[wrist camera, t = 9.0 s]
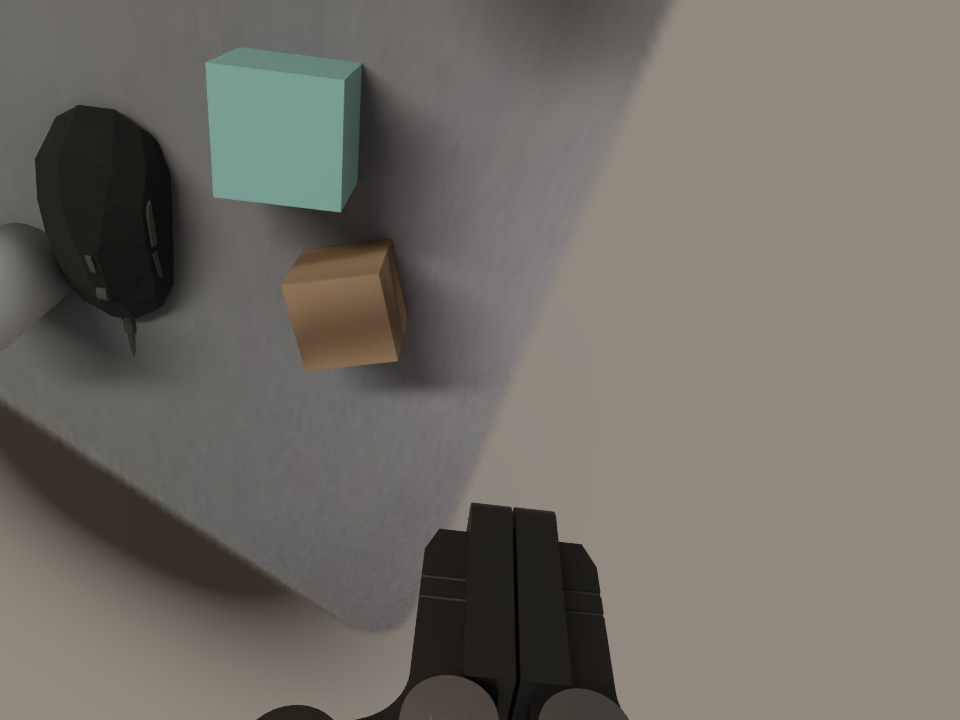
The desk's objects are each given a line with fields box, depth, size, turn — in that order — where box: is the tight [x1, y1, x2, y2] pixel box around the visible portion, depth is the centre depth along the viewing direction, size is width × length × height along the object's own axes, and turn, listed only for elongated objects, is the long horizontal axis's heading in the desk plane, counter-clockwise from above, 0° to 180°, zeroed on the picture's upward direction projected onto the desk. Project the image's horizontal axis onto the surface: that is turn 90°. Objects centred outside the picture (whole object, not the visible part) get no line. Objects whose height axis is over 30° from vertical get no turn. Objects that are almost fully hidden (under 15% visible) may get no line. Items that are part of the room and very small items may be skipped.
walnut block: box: [281, 239, 408, 371], centre depth 41 cm, size 5×5×5 cm
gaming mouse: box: [35, 105, 174, 356], centre depth 40 cm, size 6×15×4 cm, turn 173°
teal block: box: [205, 47, 362, 212], centre depth 36 cm, size 6×6×5 cm
